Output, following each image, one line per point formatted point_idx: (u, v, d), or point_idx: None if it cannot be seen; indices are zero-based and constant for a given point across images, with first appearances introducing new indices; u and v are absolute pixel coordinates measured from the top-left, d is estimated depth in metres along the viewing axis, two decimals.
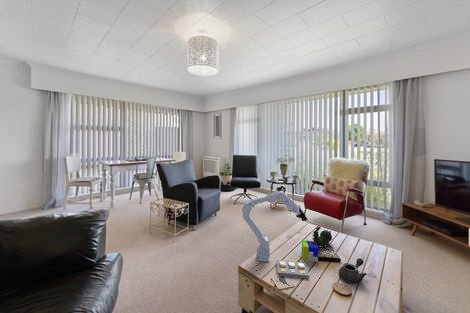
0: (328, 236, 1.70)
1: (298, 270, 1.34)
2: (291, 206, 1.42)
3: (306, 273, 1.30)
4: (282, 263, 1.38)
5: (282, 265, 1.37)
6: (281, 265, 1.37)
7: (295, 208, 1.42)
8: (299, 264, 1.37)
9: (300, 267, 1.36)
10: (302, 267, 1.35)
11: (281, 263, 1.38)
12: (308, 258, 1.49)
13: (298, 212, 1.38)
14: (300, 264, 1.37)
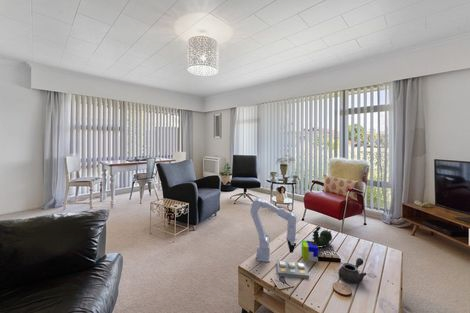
0: (328, 236, 1.70)
1: (298, 270, 1.34)
2: (291, 233, 1.41)
3: (306, 273, 1.30)
4: (282, 263, 1.38)
5: (282, 265, 1.37)
6: (281, 265, 1.37)
7: (292, 237, 1.41)
8: (299, 264, 1.37)
9: (300, 267, 1.36)
10: (302, 267, 1.35)
11: (281, 263, 1.38)
12: (308, 258, 1.49)
13: (293, 243, 1.36)
14: (300, 264, 1.37)
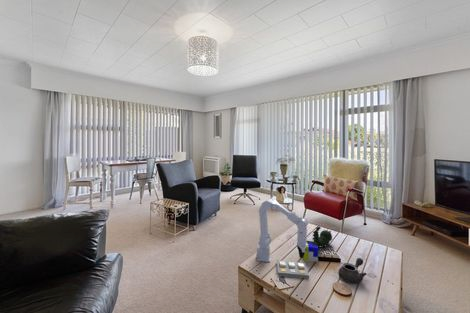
0: (328, 236, 1.70)
1: (298, 270, 1.34)
2: (302, 239, 1.33)
3: (306, 273, 1.30)
4: (282, 263, 1.38)
5: (282, 265, 1.37)
6: (281, 265, 1.37)
7: (303, 244, 1.34)
8: (299, 264, 1.37)
9: (300, 267, 1.36)
10: (302, 267, 1.35)
11: (281, 263, 1.38)
12: (308, 258, 1.49)
13: (304, 250, 1.29)
14: (300, 264, 1.37)
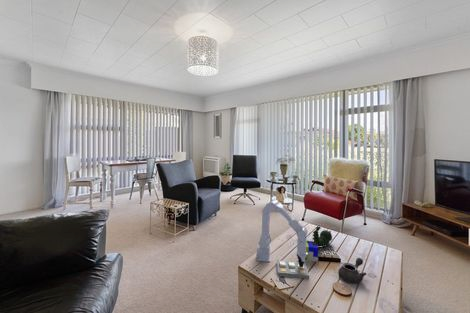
0: (328, 236, 1.70)
1: (298, 270, 1.34)
2: (302, 248, 1.34)
3: (306, 273, 1.30)
4: (282, 263, 1.38)
5: (282, 265, 1.37)
6: (281, 265, 1.37)
7: (303, 253, 1.34)
8: None
9: (300, 268, 1.36)
10: (302, 268, 1.35)
11: (281, 263, 1.38)
12: (308, 258, 1.49)
13: (304, 259, 1.30)
14: None
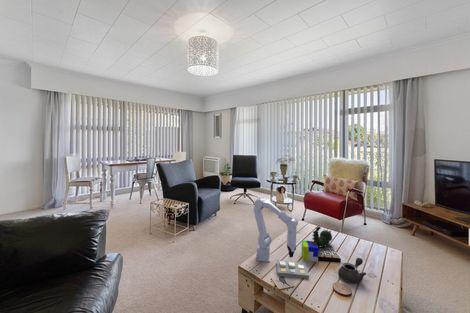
0: (328, 236, 1.70)
1: (298, 270, 1.34)
2: (292, 239, 1.34)
3: (306, 273, 1.30)
4: (282, 263, 1.38)
5: (282, 265, 1.37)
6: (281, 265, 1.37)
7: (293, 243, 1.35)
8: (299, 266, 1.38)
9: None
10: None
11: (281, 263, 1.38)
12: (308, 258, 1.49)
13: (293, 249, 1.30)
14: (300, 266, 1.38)
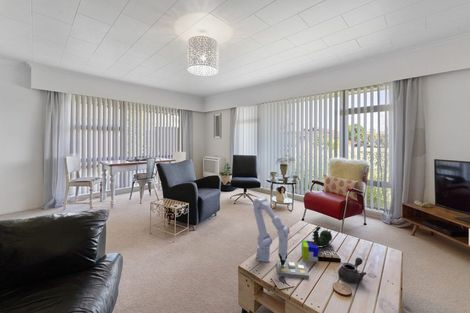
0: (328, 236, 1.70)
1: (298, 270, 1.34)
2: (283, 247, 1.35)
3: (306, 273, 1.30)
4: (282, 265, 1.38)
5: (282, 266, 1.37)
6: None
7: (284, 251, 1.36)
8: (299, 266, 1.38)
9: None
10: None
11: (281, 265, 1.38)
12: (308, 258, 1.49)
13: (284, 258, 1.31)
14: (300, 266, 1.38)
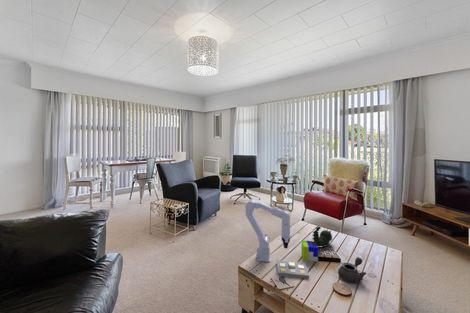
0: (328, 236, 1.70)
1: (298, 270, 1.34)
2: (285, 230, 1.42)
3: (306, 273, 1.30)
4: (282, 265, 1.38)
5: None
6: None
7: (286, 235, 1.42)
8: (299, 266, 1.38)
9: None
10: None
11: (281, 265, 1.38)
12: (308, 258, 1.49)
13: (287, 240, 1.38)
14: (300, 266, 1.38)
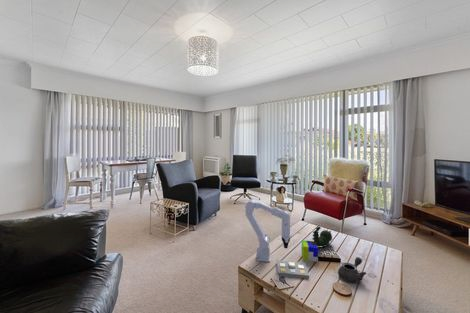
0: (328, 236, 1.70)
1: (298, 270, 1.34)
2: (285, 230, 1.42)
3: (306, 273, 1.30)
4: (282, 265, 1.38)
5: None
6: None
7: (286, 235, 1.42)
8: (299, 266, 1.38)
9: None
10: None
11: (281, 265, 1.38)
12: (308, 258, 1.49)
13: (287, 240, 1.38)
14: (300, 266, 1.38)
